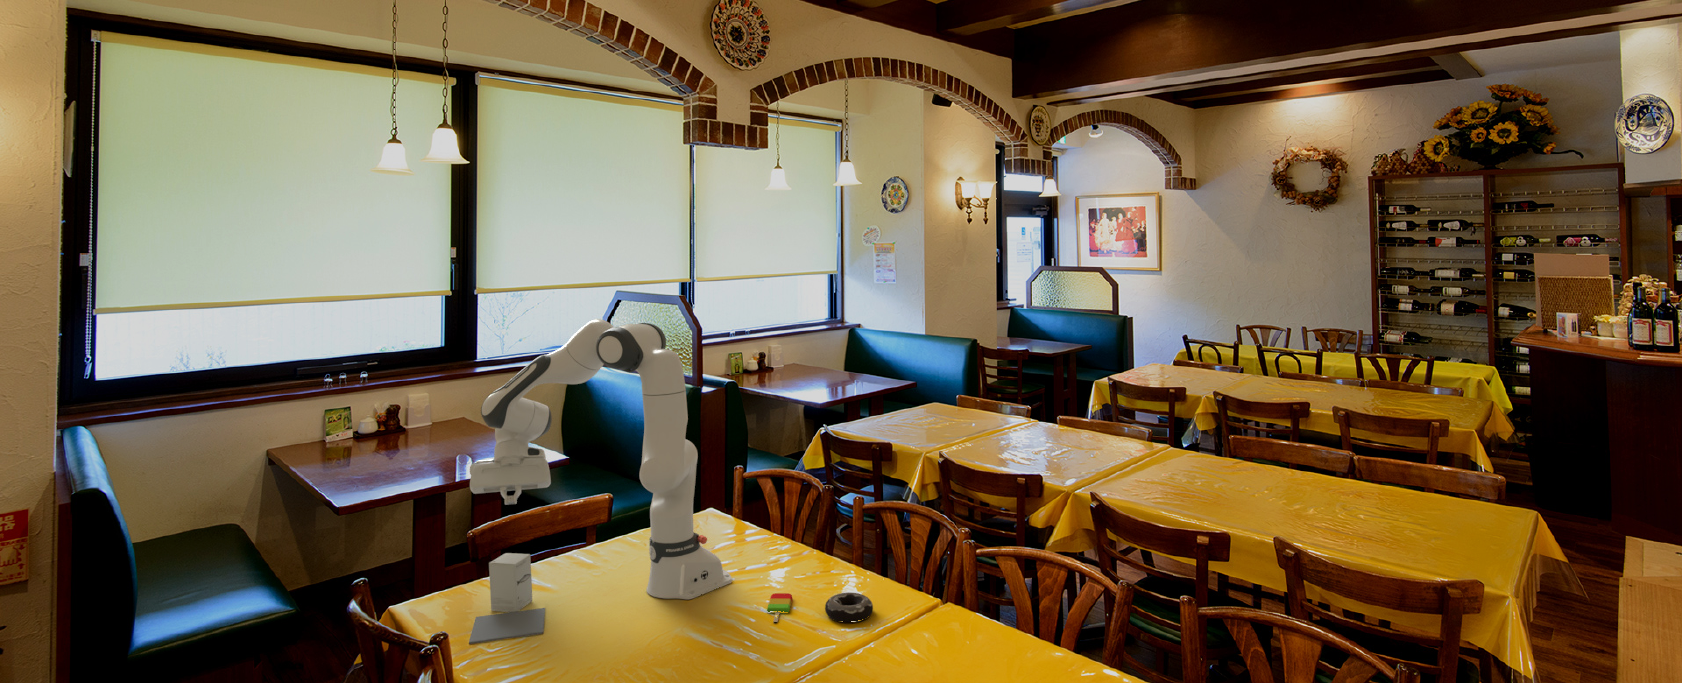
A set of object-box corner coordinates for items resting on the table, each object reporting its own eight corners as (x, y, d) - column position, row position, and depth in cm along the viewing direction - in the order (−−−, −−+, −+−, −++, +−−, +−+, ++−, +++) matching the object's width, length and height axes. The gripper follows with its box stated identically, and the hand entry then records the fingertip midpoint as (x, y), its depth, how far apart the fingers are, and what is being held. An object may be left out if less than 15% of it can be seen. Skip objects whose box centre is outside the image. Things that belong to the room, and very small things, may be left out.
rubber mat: (475, 618, 202) (475, 616, 202) (545, 609, 207) (545, 607, 207) (468, 644, 189) (468, 641, 189) (543, 633, 194) (543, 631, 194)
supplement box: (517, 613, 205) (514, 564, 203) (490, 611, 206) (487, 562, 205) (533, 601, 212) (531, 553, 211) (507, 599, 213) (505, 551, 212)
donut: (864, 602, 209) (864, 587, 209) (879, 622, 198) (879, 606, 197) (819, 608, 206) (819, 593, 205) (832, 628, 195) (832, 612, 194)
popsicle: (792, 599, 212) (792, 592, 212) (786, 625, 197) (786, 618, 197) (771, 599, 212) (771, 592, 212) (763, 625, 198) (763, 617, 197)
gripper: (468, 455, 221) (466, 501, 213) (549, 449, 227) (550, 493, 219) (471, 467, 225) (469, 512, 217) (550, 461, 232) (551, 505, 223)
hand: (510, 503), depth 218 cm, fingers closed
